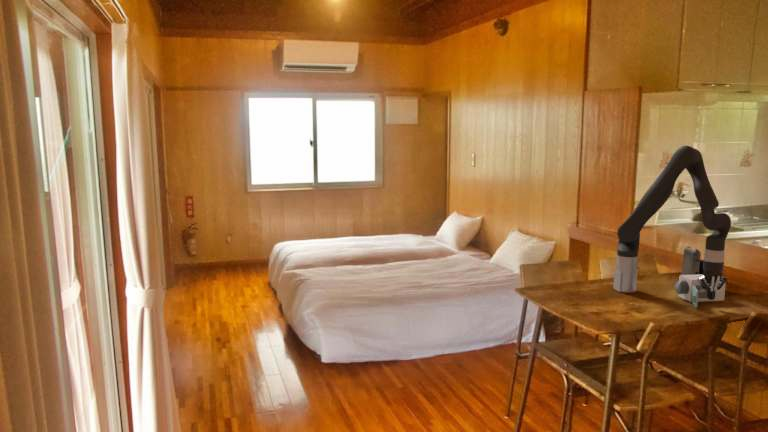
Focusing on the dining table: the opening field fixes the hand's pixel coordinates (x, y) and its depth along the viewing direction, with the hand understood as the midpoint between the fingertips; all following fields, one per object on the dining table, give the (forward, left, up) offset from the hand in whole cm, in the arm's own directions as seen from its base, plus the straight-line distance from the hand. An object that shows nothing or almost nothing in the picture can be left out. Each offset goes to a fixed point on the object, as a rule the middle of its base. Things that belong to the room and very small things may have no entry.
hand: (710, 299), depth 239 cm
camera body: (+4, +14, -4) cm, 15 cm away
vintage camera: (+16, +31, -4) cm, 35 cm away
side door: (-5, +5, -3) cm, 7 cm away
